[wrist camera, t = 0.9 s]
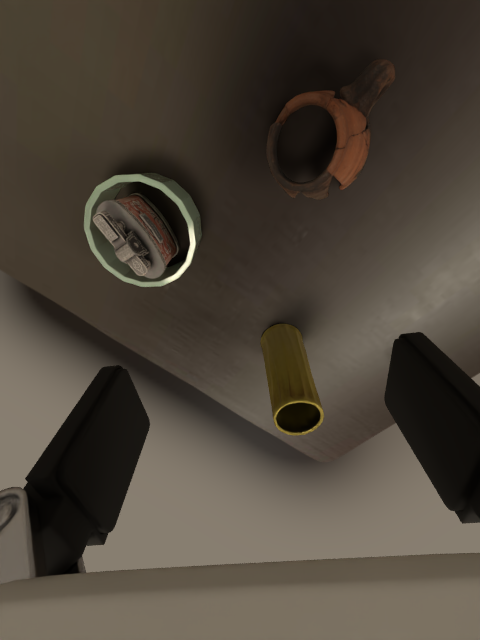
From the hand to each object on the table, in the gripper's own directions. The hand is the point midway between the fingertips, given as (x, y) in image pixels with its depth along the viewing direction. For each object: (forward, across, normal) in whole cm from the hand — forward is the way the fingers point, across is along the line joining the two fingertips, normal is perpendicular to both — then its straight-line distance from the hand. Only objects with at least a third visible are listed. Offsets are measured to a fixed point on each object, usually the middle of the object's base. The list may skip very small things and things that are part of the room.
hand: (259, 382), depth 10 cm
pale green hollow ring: (+26, +11, -2) cm, 28 cm away
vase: (+26, -3, +16) cm, 31 cm away
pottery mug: (+26, -9, -8) cm, 29 cm away
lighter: (+26, +11, -2) cm, 29 cm away
